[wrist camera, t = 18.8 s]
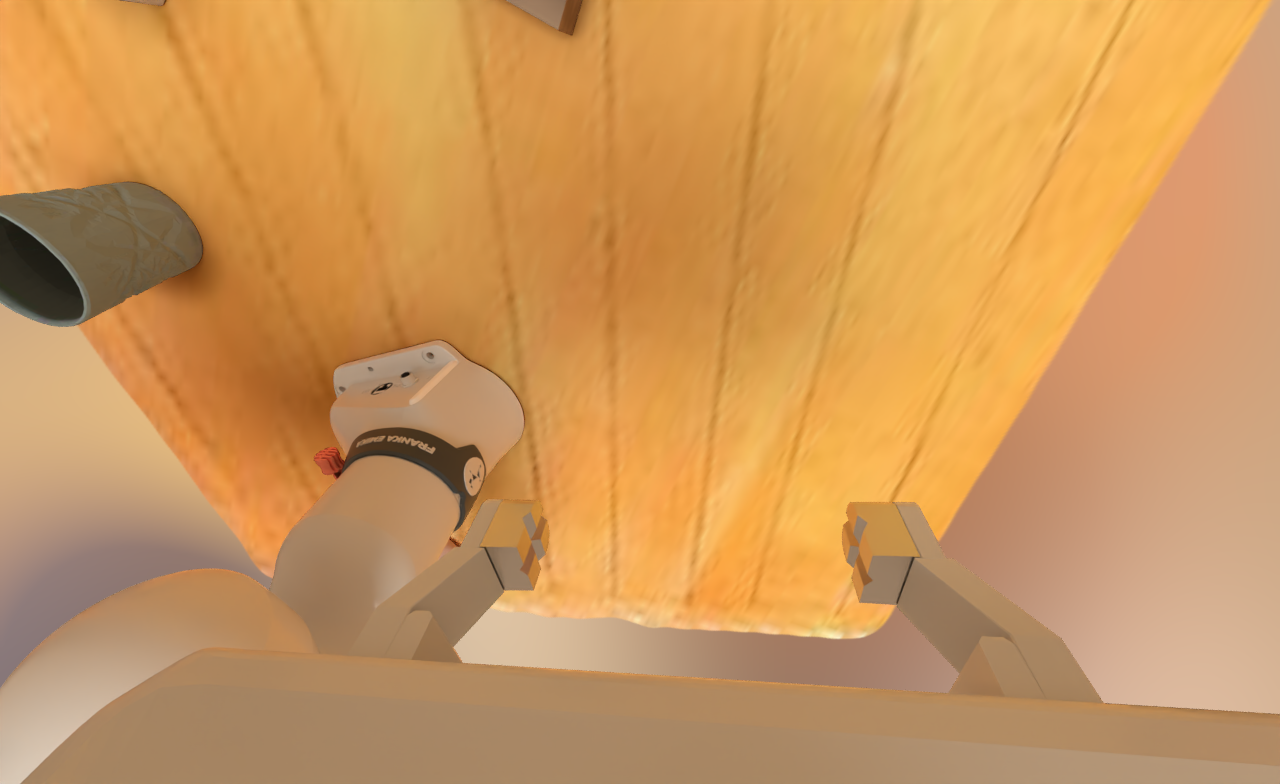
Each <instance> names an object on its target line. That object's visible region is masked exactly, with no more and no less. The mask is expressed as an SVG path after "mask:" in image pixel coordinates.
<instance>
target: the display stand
mask: <svg viewBox="0 0 1280 784" xmlns="http://www.w3.org/2000/svg"><path fill="white" fill-rule="evenodd" d="M506 1H508V2H510V3H512V4H513V5H515V6H517V7H519V8H520V9H522V10H524V11H526V12H527V13H529V14H531V15H533V16H534V17H536V18H538V19H540V20H541V21H543V22H545V23H547V24H548V25H550V26H552V27H554V28H555V29H557V30H559V31H562V32H565V33H567V34H570V35H572V33H573V30H574V27H575V23H576V20H577V17H578V13H579V10H580V6H581V3H582V0H506Z"/></svg>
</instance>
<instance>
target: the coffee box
mask: <svg viewBox="0 0 1280 784" xmlns="http://www.w3.org/2000/svg"><path fill="white" fill-rule="evenodd" d="M120 1H128V2H137V3H143V4H151V5H158V6H162V5H163V4H164V2H165V0H120Z"/></svg>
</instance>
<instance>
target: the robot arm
mask: <svg viewBox="0 0 1280 784" xmlns="http://www.w3.org/2000/svg"><path fill="white" fill-rule="evenodd" d="M430 353H432V354H433V355H434V356H433V355H431V354H430ZM333 383H334V389H335V393H336V396H337V400H336V401H335V402H334V403H333V405H332V407H331V410H330V423H331V427H332V430H333V432H334V435H335V437H336V439H337V441H338V443H339V444H340V446H341V448H342V449H343V451H344V453H345V454H346V456H347V457H346V459H345V461H344V460H342V459H341V457H340V453H339V451H338V450H337V448H335V447H330V448H326V449H324V450H322V451H320V452H319V453H317V454H316V456H314V461H315V462H316V464H317V465H318V466H320V467H321V469H322V473H323V474H325V475H331V474H333V476H334V477H335V479H336V481H335V482H334V483H333V484H332V485H331V486H330V487H329V488H328V490H327V491H326V492H325V493H324V494H323V495H322V496H321V497H320V498H319V499H318V500H317V502H316V503H315V504H314V505H313V506H312V507H311V508H310V509H309V510H308V511H307V513H306V514H305V515H304V516H303V517H302V518H301V519H300V520H299V521H298V522H297V523H296V525H295V526H294V527H293V528H292V529H291V531H290V532H289V533H288V535H287V537H286V538H285V540H284V542H283V544H282V546H281V548H280V551H279V554H278V557H277V560H276V565H275V571H274V575H273V579H272V583H271V586H270V588H269V590H268V589H266V588H265V587H264V586H262V585H261V584H260V583H258V582H257V581H255V580H254V579H252V578H250V577H248V576H246V575H244V574H242V573H238V572H235V571H230V570H224V569H196V570H187V571H181V572H176V573H171V574H167V575H164V576H160V577H157V578H154V579H150V580H147V581H144V582H142V583H139V584H136V585H134V586H131V587H128V588H126V589H124V590H122V591H119V592H117V593H116V594H113V595H111V596H109V597H107V598H105V599H103V600H101V601H99V602H98V603H96V604H94V605H92V606H91V607H89V608H87V609H86V610H84V611H83V612H81V613H79V614H78V615H76V616H75V617H73V618H72V619H71V620H69V621H68V622H66V623H65V624H64V625H62V626H61V627H60V628H58V629H57V630H56V631H55V632H53V633H52V634H51V635H50V636H48V637H47V638H46V639H45V640H44V641H43V642H42V643H41V644H39V645H38V646H37V647H36V648H35V649H34V650H33V651H32V652H31V653H30V654H29V655H28V656H27V657H26V658H25V659H24V660H23V661H22V662H21V663H20V664H19V665H18V667H17V668H16V669H15V670H14V671H13V672H12V674H11V675H10V676H9V677H8V679H7V680H6V681H5V683H4V684H3V685H2V687H1V688H0V784H1280V714H1270V713H1254V712H1238V711H1222V710H1205V709H1190V708H1173V707H1158V706H1142V705H1125V704H1109V703H1103V701H1102V700H1101V698H1100V697H1099V695H1098V694H1097V692H1096V691H1095V689H1094V687H1093V686H1092V684H1091V683H1090V681H1089V680H1088V678H1087V677H1086V675H1085V674H1084V672H1083V671H1082V669H1081V668H1080V666H1079V664H1078V663H1077V661H1076V660H1075V658H1074V657H1073V655H1072V654H1071V652H1070V651H1069V649H1068V648H1067V646H1066V645H1065V643H1064V641H1063V640H1062V639H1061V638H1060V637H1059V636H1057V635H1056V634H1055V633H1053V632H1052V631H1051V630H1049V629H1048V628H1047V627H1045V626H1044V625H1043V624H1041V623H1040V622H1038V621H1037V620H1036V619H1034V618H1033V617H1032V616H1030V615H1029V614H1027V613H1026V612H1025V611H1024V610H1022V609H1021V608H1020V607H1018V606H1017V605H1015V604H1014V603H1013V602H1011V601H1010V600H1009V599H1007V598H1006V597H1005V596H1003V595H1002V594H1001V593H999V592H998V591H997V590H995V589H994V588H992V587H991V586H990V585H988V584H987V583H986V582H984V581H983V580H982V579H980V578H979V577H977V576H976V575H975V574H973V573H972V572H971V571H969V570H968V569H967V568H965V567H964V566H963V565H961V564H960V563H959V562H957V561H956V560H955V559H951V558H946V556H945V555H944V553H943V551H942V549H941V547H940V545H939V543H938V541H937V539H936V538H935V536H934V534H933V532H932V530H931V528H930V526H929V524H928V522H927V521H926V519H925V517H924V515H923V513H922V511H921V509H920V507H919V506H918V505H917V504H916V503H915V502H892V503H891V502H850V503H849V505H848V507H847V511H846V514H847V517H848V520H849V521H847V522H846V523H845V524H844V525H843V531H842V545H843V550H844V555H845V558H846V561H847V563H849V564H850V565H851V566H852V567H853V568H854V570H853V574H852V581H853V584H854V587H855V590H856V593H857V596H858V599H859V603H875V604H891V605H897V608H899V610H900V611H901V612H902V613H903V614H904V615H905V616H906V617H907V618H908V619H909V620H910V621H911V622H912V623H913V624H914V626H915V627H916V628H917V629H918V630H919V631H920V632H921V633H922V634H923V635H924V636H925V637H926V638H927V639H928V640H929V642H930V643H931V644H932V645H933V646H934V647H935V648H936V649H937V650H938V651H939V652H940V653H941V654H942V655H943V656H944V657H945V659H946V660H947V661H948V662H949V663H950V664H951V665H952V666H953V667H954V668H955V669H956V670H957V671H958V672H959V673H960V674H959V676H958V678H957V680H956V681H955V683H954V684H953V686H952V688H951V690H950V691H949V693H933V692H918V691H902V690H886V689H870V688H854V687H838V686H837V687H836V686H822V685H805V684H790V683H775V682H758V681H743V680H726V679H711V678H695V677H678V676H663V675H662V676H661V675H645V674H630V673H614V672H598V671H582V670H566V669H550V668H533V667H518V666H517V667H516V666H502V665H486V664H470V663H462V660H461V659H460V657H459V656H458V654H457V652H456V651H455V649H454V648H453V647H454V646H455V645H456V643H457V642H458V641H459V640H460V639H461V638H462V637H463V636H464V635H465V634H466V633H467V631H468V630H469V629H470V628H471V627H472V626H473V625H474V624H475V623H476V622H477V621H478V620H479V619H480V617H481V616H482V615H483V614H484V613H485V612H486V611H487V610H488V609H489V608H490V607H491V606H492V605H493V603H494V602H495V601H496V600H497V599H498V598H499V597H500V596H501V595H502V594H503V593H504V590H534V588H535V585H536V582H537V579H538V576H539V573H540V570H541V567H540V564H539V562H538V561H539V560H540V559H541V558H542V557H543V556H544V555H545V554H546V551H547V548H548V543H549V526H548V523H547V520H546V519H544V518H543V517H542V516H541V515H542V512H543V507H542V505H541V502H540V501H536V500H507V499H504V500H499V499H487V500H486V501H485V502H484V503H483V504H482V505H481V507H480V509H479V511H478V513H477V515H476V517H475V519H474V521H473V523H472V525H471V527H470V529H469V531H468V533H467V535H466V536H465V538H464V540H463V542H462V544H461V546H460V547H454V548H453V549H452V550H451V551H449V552H448V553H447V554H445V555H444V556H443V557H441V558H440V559H439V557H440V555H441V553H442V551H443V549H444V548H445V546H446V544H447V542H448V540H449V538H450V536H451V535H452V533H453V532H454V531H456V530H457V529H458V528H459V527H460V526H461V525H462V523H463V522H464V520H465V518H466V517H467V515H468V513H469V511H470V510H471V508H472V506H473V504H474V502H475V501H476V499H477V497H478V494H479V492H480V490H481V487H482V485H483V482H484V480H485V478H486V477H487V476H488V474H489V473H490V472H491V471H492V470H493V468H494V467H495V465H496V464H497V463H498V462H499V460H500V459H501V458H502V457H503V456H504V455H505V454H506V453H507V452H508V451H509V450H510V449H511V448H512V447H513V446H514V445H515V444H516V443H517V442H518V441H519V439H520V437H521V435H522V433H523V429H524V416H523V411H522V408H521V405H520V403H519V401H518V399H517V398H516V396H515V394H514V393H513V392H512V390H511V389H510V388H509V387H508V386H507V385H506V384H505V383H504V382H503V381H502V380H501V379H500V378H499V377H497V376H496V375H495V374H493V373H492V372H490V371H488V370H487V369H485V368H483V367H481V366H479V365H477V364H475V363H473V362H471V361H469V360H467V359H466V358H464V357H463V356H462V355H461V354H460V353H459V352H458V351H457V350H456V349H454V348H453V347H452V346H451V345H450V344H448V343H446V342H444V341H441V340H436V341H432V342H428V343H424V344H420V345H416V346H412V347H408V348H404V349H400V350H396V351H392V352H388V353H384V354H380V355H376V356H372V357H369V358H365V359H361V360H357V361H353V362H349V363H345V364H342V365H340V366H338V367H337V369H336V370H335V371H334V376H333ZM438 559H439V560H438Z"/></svg>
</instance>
